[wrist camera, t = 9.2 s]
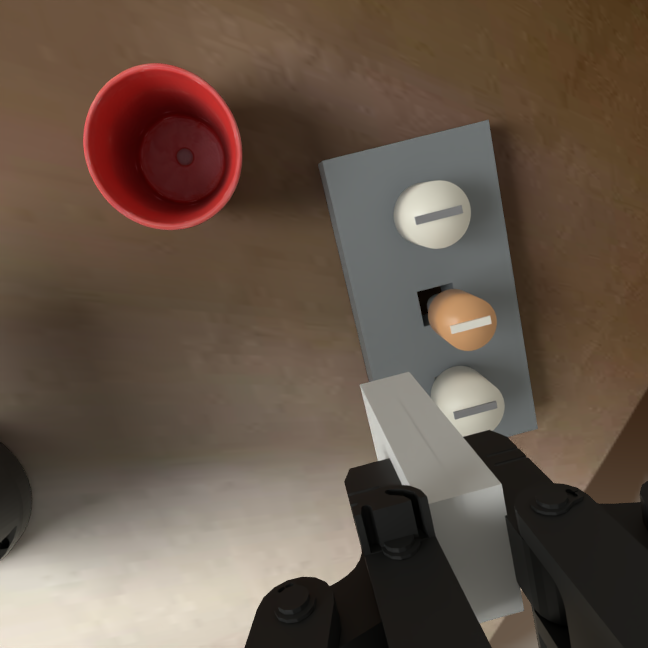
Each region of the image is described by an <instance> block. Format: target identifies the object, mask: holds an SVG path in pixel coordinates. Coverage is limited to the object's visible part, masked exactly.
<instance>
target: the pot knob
mask: <svg viewBox="0 0 648 648" xmlns="http://www.w3.org/2000/svg"><path fill="white" fill-rule="evenodd" d="M427 309H428V320H429V323H430V326H431V327H432V329H433V330H434V331H435V332H436V333H437V334H438V335H440V336H441V337H442V338H443V339H445V340H446V341H447V342H449V343H450V344H451V345H452V346H454V347H455V348H457V349H460V350H464V351H472V350H476V349H479V348H481V347H483V346H484V345H486V344H487V343H488V342H489V341H490V340H491V338H492V337H493V335H494V333H495V330H496V326H497V318H496V314H495V311H494V309H493V308H492V307H491V305H490V304H489V303H487V302H486V301H484V300H483V299H480V298H478V297H476V296H474V295H472V294H469V293H467V292H465V291H463V290H459V289H449V290H445V291H443V292H441V293H440V294H434V295H432V296H431V297H430V298H429V300H428V302H427Z"/></svg>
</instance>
